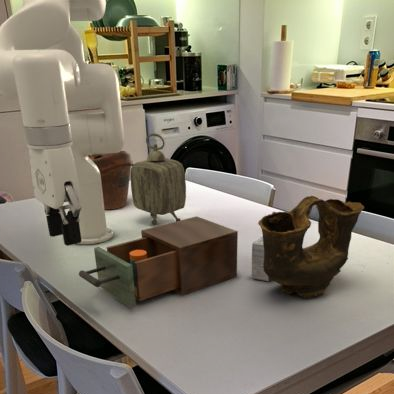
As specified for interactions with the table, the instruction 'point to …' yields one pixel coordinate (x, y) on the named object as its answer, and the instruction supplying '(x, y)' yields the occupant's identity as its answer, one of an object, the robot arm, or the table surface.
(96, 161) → the reddish brown pot
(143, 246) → the drawer
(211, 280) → the cabinet
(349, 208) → the pottery vessel
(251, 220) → the table surface
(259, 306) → the table surface
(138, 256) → the glue stick
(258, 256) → the medicine box
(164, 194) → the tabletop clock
